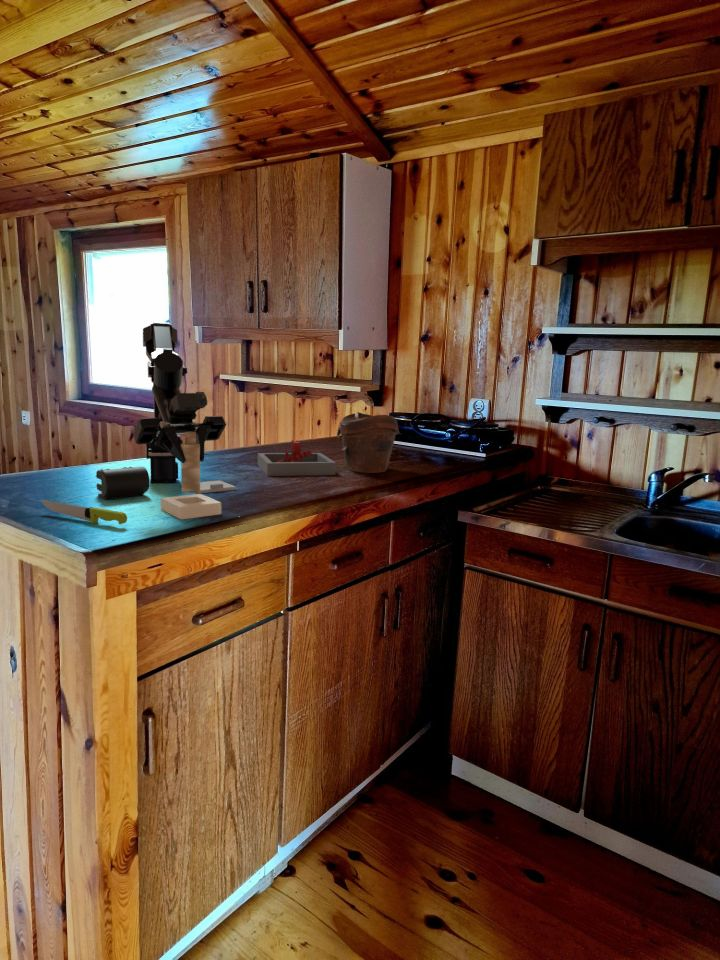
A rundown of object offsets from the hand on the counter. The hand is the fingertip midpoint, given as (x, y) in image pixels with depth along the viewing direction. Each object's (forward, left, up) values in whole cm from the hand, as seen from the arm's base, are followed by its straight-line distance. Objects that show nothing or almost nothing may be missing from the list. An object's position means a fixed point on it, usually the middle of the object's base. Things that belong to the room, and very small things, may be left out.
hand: (193, 461), depth 130 cm
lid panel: (+5, +25, -11) cm, 28 cm away
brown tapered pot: (+54, +49, -11) cm, 74 cm away
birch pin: (-1, +1, -7) cm, 7 cm away
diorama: (+31, +50, -11) cm, 60 cm away
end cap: (-15, +18, -11) cm, 26 cm away
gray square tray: (+32, +50, -11) cm, 61 cm away
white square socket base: (-1, +1, -11) cm, 11 cm away
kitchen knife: (-21, -3, -11) cm, 25 cm away
